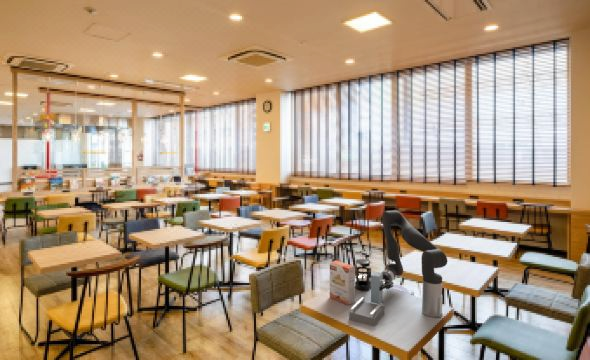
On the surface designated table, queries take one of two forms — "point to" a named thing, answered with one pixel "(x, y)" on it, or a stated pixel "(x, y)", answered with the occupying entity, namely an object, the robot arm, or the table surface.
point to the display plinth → (366, 312)
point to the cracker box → (342, 282)
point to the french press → (362, 281)
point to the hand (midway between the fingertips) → (375, 288)
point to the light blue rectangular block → (376, 287)
